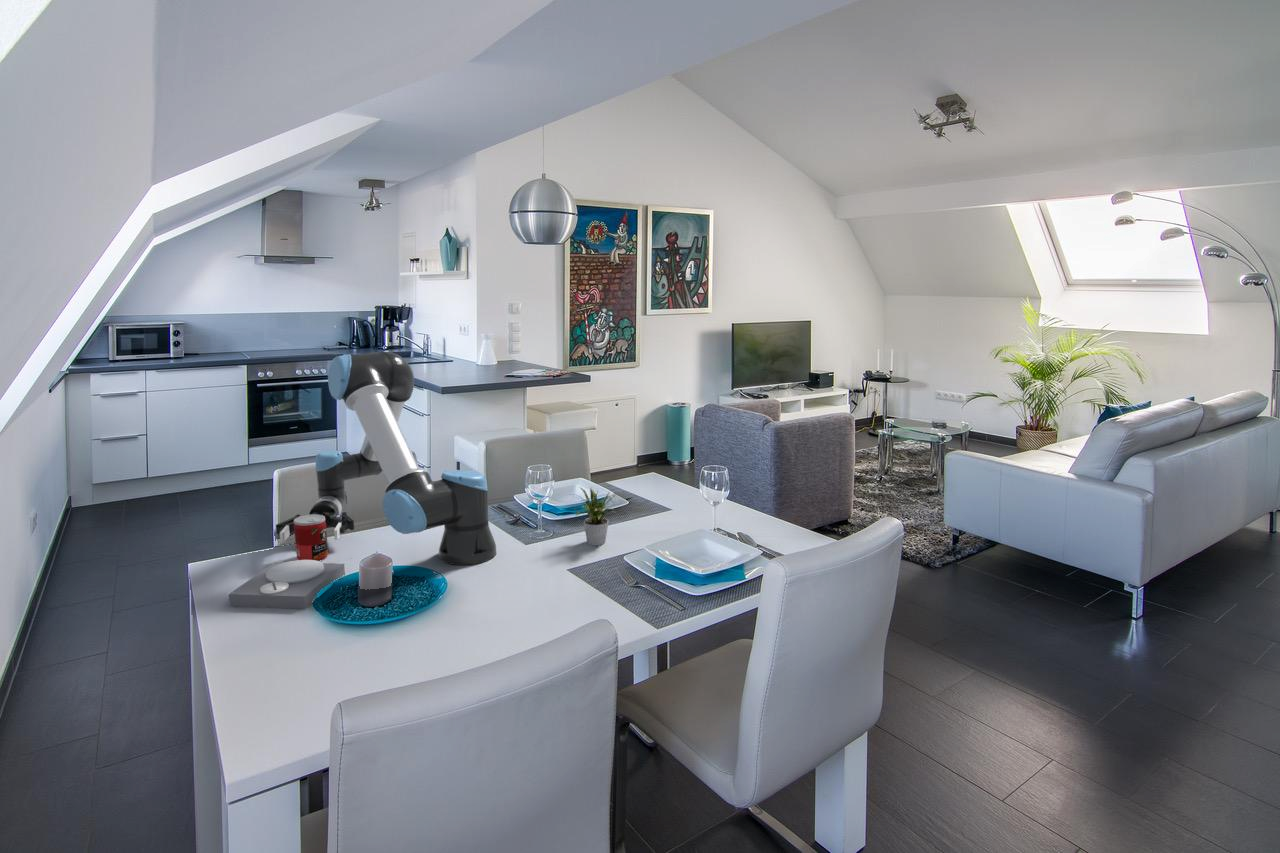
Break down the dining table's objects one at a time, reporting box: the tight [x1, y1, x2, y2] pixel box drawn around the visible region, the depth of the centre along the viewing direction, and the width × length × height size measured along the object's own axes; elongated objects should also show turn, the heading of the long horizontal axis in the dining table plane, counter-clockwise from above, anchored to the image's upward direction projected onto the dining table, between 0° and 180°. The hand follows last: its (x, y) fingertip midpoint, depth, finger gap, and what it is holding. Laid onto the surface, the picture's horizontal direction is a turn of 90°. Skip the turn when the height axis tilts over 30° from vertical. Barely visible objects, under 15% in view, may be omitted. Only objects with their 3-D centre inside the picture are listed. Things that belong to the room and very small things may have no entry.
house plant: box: [570, 486, 620, 546], centre depth 218 cm, size 14×14×16 cm
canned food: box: [293, 514, 329, 562], centre depth 206 cm, size 8×8×11 cm
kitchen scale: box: [228, 559, 346, 610], centre depth 186 cm, size 18×20×4 cm
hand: (308, 536), depth 205 cm, fingers open, 13 cm apart
